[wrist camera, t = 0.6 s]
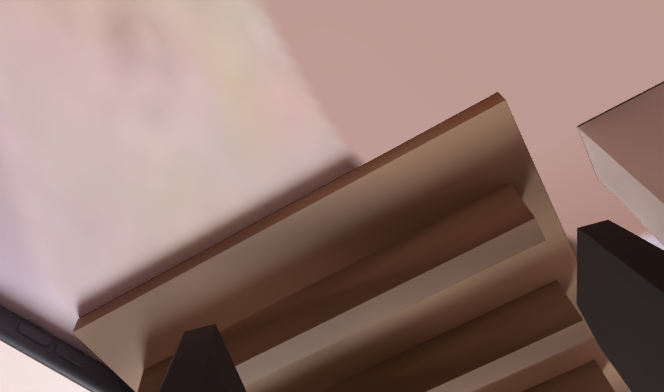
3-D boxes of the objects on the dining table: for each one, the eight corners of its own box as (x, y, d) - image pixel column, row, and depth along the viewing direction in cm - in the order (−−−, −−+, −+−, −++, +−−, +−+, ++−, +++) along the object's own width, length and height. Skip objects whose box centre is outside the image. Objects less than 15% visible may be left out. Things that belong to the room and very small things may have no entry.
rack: (632, 391, 28) (671, 449, 26) (301, 532, 32) (303, 597, 29) (497, 92, 21) (532, 127, 18) (78, 318, 24) (51, 379, 21)
